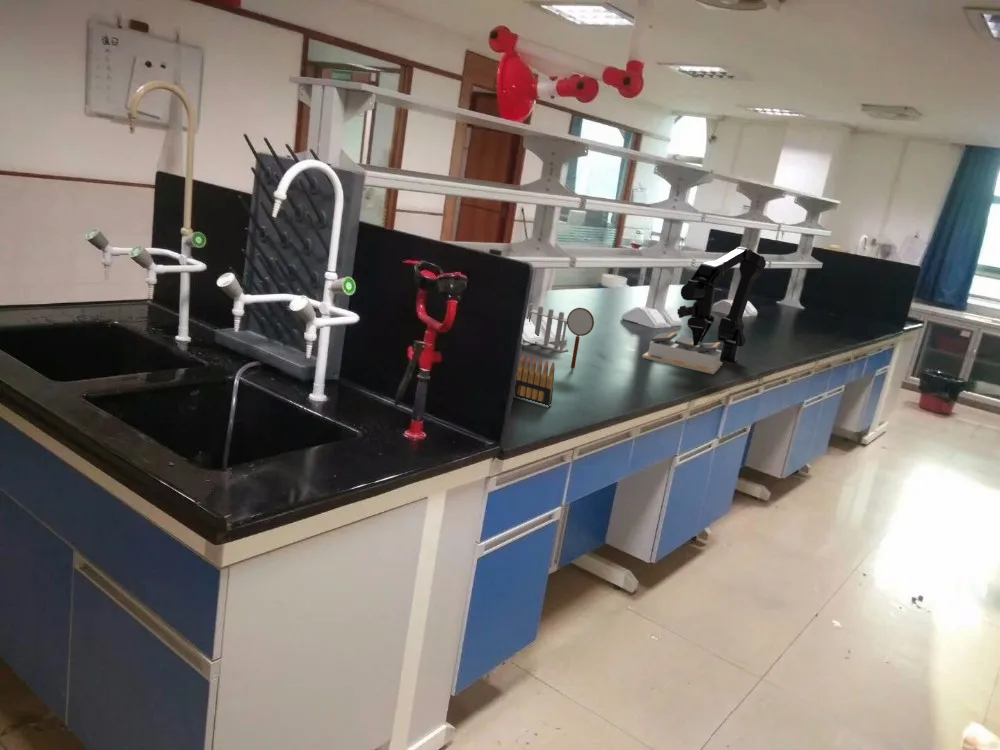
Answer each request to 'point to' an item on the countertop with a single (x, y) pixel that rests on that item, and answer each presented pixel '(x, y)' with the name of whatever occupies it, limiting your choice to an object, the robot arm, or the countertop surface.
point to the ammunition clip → (535, 381)
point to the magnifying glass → (579, 327)
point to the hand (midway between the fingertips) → (697, 343)
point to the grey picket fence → (549, 328)
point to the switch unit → (684, 356)
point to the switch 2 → (709, 346)
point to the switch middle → (685, 342)
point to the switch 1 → (664, 337)
